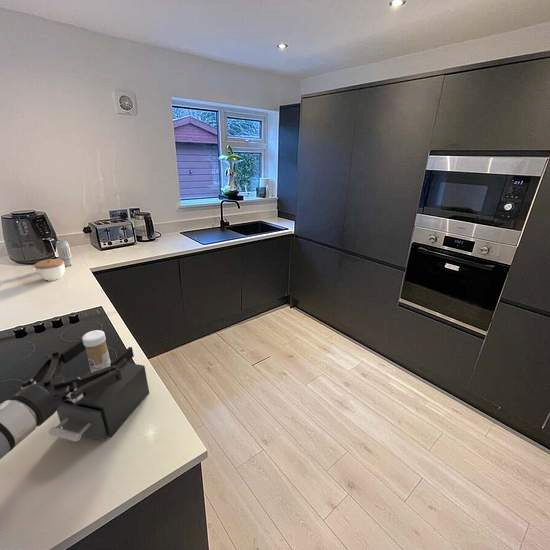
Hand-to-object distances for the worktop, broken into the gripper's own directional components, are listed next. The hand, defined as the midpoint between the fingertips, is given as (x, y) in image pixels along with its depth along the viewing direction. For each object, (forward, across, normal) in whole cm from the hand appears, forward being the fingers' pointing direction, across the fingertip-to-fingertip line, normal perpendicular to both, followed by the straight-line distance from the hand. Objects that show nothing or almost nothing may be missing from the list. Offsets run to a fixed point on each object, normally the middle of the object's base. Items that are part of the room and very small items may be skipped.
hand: (108, 347), depth 73 cm
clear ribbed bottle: (+83, -105, -18) cm, 135 cm away
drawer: (-8, 0, -16) cm, 18 cm away
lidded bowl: (+64, -94, -18) cm, 115 cm away
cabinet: (-3, 0, -17) cm, 18 cm away
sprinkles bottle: (-3, 0, -8) cm, 8 cm away
